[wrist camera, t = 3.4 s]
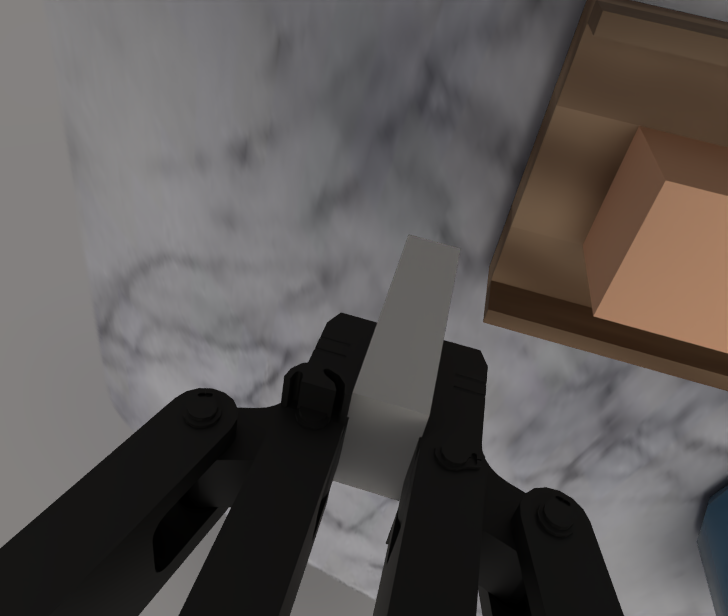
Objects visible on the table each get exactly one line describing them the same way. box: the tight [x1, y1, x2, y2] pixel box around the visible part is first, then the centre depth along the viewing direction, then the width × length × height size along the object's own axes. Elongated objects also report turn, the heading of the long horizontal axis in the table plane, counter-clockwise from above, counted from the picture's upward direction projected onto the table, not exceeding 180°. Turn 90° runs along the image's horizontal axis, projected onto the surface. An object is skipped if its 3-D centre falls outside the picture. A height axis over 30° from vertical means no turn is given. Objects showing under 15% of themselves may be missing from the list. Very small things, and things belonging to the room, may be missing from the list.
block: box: [583, 126, 728, 353], centre depth 21 cm, size 6×6×6 cm
